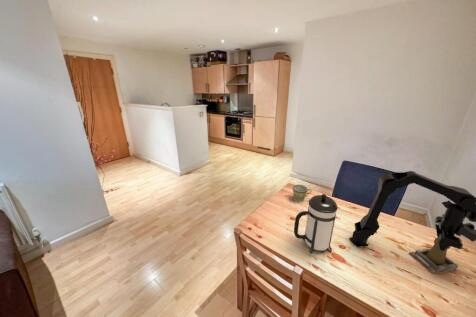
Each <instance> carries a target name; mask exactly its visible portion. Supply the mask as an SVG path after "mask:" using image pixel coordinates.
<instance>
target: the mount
mask: <svg viewBox="0 0 476 317" xmlns="http://www.w3.org/2000/svg"><path fill="white" fill-rule="evenodd" d="M430 250H431V248H424V249H415V251H409V252H408V255H409V256H410V257H412V258H413V259H414V260H415V261H417V262H418V263H419V264H420V265H421V266H422V267H423V268H425V269H426V270H427V271H428V272H429V273H431V274H438V273H445V272H454V271H457V269H458V267H459V265H458V264H457V263H455V262H453V261H452V260H451V259H450V258H448V257H447V256H446V258H445V262H444V264H443V265H439V264H436V263H433V262H432V261H431V260H429V259H428V258H427V256H426V255H427V254H428V252H429V251H430Z"/></svg>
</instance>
